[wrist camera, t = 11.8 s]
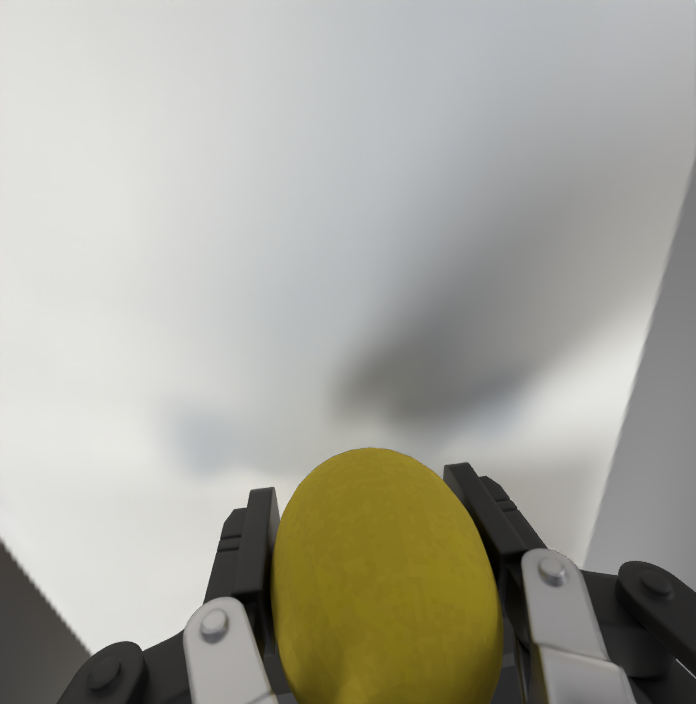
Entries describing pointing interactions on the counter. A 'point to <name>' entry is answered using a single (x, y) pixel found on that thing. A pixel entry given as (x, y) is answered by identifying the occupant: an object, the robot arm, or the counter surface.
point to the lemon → (383, 588)
